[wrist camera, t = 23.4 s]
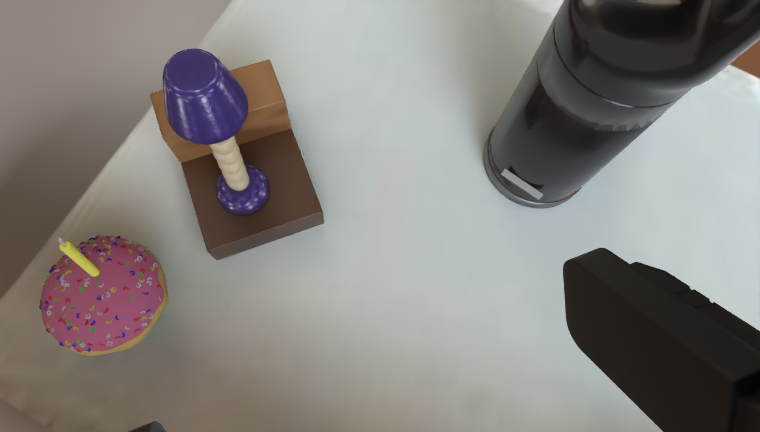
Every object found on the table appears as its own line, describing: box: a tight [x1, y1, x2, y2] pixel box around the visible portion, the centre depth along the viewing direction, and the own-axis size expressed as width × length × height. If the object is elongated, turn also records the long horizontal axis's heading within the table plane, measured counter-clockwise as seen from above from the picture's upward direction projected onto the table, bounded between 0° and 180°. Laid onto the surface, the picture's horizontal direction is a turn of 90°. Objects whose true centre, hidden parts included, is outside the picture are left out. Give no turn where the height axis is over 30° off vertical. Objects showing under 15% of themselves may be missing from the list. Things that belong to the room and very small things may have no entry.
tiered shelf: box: [150, 60, 324, 260], centre depth 42 cm, size 10×12×8 cm
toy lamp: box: [163, 49, 270, 215], centre depth 34 cm, size 5×5×17 cm
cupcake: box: [40, 235, 168, 356], centre depth 36 cm, size 9×8×12 cm
